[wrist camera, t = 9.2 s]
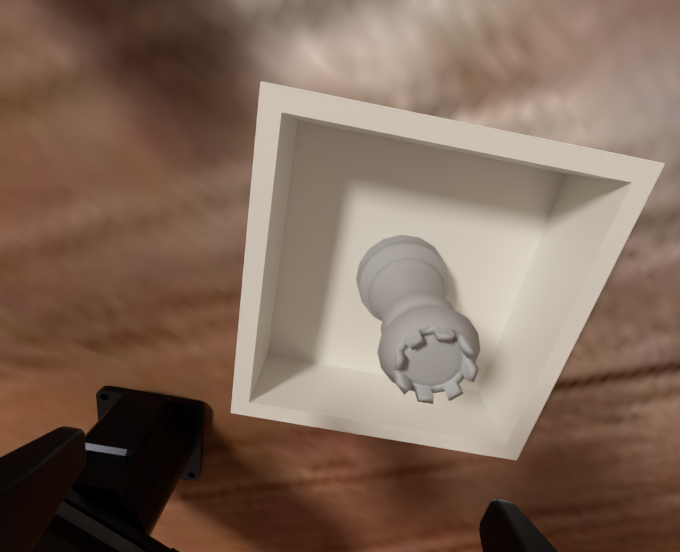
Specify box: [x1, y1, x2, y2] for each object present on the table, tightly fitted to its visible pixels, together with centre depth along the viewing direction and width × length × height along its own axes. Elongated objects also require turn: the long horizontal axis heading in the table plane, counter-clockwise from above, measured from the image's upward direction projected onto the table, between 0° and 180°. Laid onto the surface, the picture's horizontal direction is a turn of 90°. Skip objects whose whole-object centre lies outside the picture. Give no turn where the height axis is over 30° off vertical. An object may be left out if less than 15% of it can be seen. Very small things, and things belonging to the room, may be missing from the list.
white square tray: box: [231, 81, 665, 461], centre depth 16 cm, size 14×14×4 cm
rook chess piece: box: [356, 235, 480, 404], centre depth 14 cm, size 4×4×8 cm
